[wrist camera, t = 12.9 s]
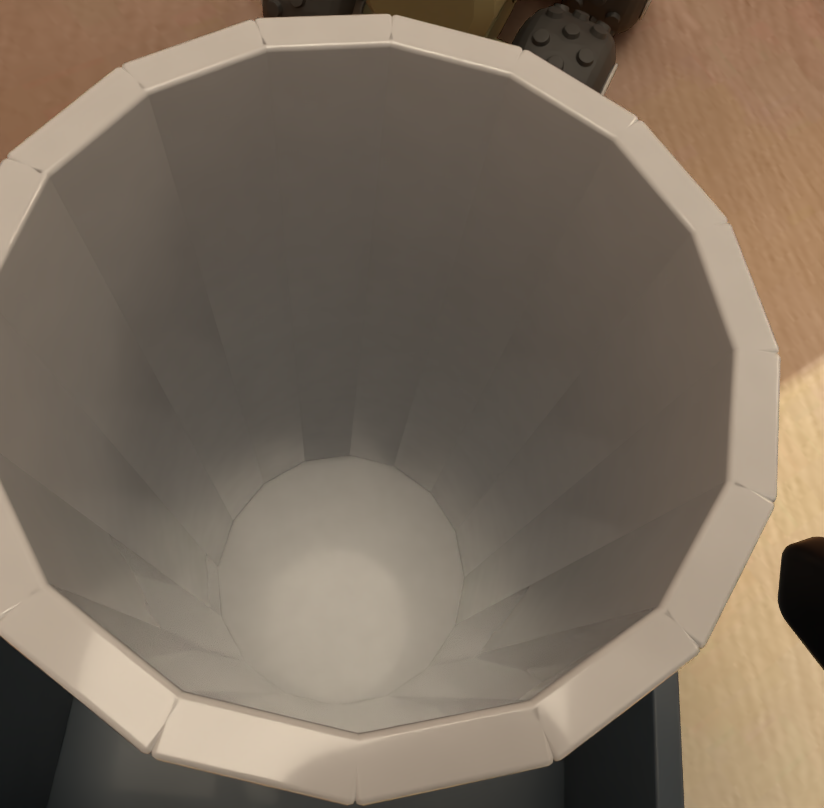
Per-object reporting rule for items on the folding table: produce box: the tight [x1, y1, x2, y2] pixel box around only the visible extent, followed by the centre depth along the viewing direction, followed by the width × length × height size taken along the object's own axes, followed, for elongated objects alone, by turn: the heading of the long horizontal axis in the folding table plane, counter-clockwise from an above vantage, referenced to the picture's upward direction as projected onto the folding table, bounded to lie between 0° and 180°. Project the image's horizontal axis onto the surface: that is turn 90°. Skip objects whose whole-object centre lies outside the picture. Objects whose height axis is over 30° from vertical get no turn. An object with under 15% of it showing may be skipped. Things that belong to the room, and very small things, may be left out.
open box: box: [0, 637, 684, 808], centre depth 16 cm, size 12×12×6 cm
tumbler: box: [0, 14, 780, 806], centre depth 12 cm, size 6×6×13 cm
